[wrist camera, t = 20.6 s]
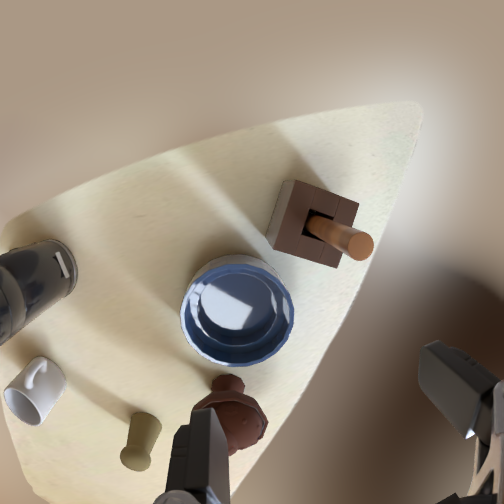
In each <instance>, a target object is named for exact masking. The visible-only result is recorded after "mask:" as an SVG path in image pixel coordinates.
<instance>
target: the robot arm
mask: <svg viewBox="0 0 504 504" xmlns="http://www.w3.org/2000/svg"><path fill="white" fill-rule="evenodd" d="M76 281H77V266H76V263H75V260H74V257H73V255H72V254H71V252H70V251H69V249H68V248H67V247H66V246H65V245H64V244H62V243H61V242H59V241H57V240H53V239H48V240H44V241H42V242H40V243H32V244H30V245H27V246H24V247H21V248H15V249H13V250H10V251H9V252H7V253H5V254H2V255H0V346H2V345H3V344H4V343H5V342H6V341H8V340H9V339H10V338H11V337H13V336H14V335H15V334H16V333H18V332H19V331H20V330H21V329H22V328H24V327H25V326H26V325H28V324H29V323H30V322H31V321H33V320H34V319H35V318H37V317H38V316H39V315H41V314H42V313H43V312H44V311H46V310H47V309H48V308H50V307H51V306H52V305H54V304H55V303H56V302H58V301H59V300H60V299H62V298H64V297H66V296H67V295H68V294H70V293H71V292H72V290H73V289H74V287H75V285H76ZM418 382H419V385H420V388H421V389H422V391H423V392H424V393H425V394H426V396H427V397H428V398H429V399H430V400H431V401H432V402H433V403H434V405H436V407H437V408H438V409H439V410H440V411H441V412H442V414H443V415H444V416H445V417H446V418H447V419H448V420H449V422H450V423H451V424H452V425H453V426H454V427H455V428H456V430H457V431H458V432H459V433H460V434H461V435H462V437H463V438H464V439H465V440H466V439H467V438H469V437H470V436H472V435H473V434H476V435H477V436H478V437H477V440H476V449H475V461H474V470H473V478H472V483H471V486H470V489H469V491H468V495H467V497H462V498H459V497H458V496H457V494H456V493H454V494H452V495H451V496H449V497H447V498H446V499H444V500H442V501H440V502H438V503H437V504H504V380H502V381H501V380H500V379H499V378H498V377H496V376H495V375H494V374H493V373H491V372H490V371H489V370H488V369H486V368H485V367H484V366H482V365H481V364H480V363H478V362H477V361H476V360H475V359H473V358H471V356H469V355H468V354H467V353H466V352H464V351H463V350H461V349H458V348H455V347H450V348H449V347H448V346H447V345H445V344H444V343H443V342H442V341H440V340H436V341H434V342H432V343H429V344H427V345H425V346H423V347H422V348H421V349H420V360H419V373H418ZM172 448H173V449H172V451H171V458H170V463H169V470H168V476H167V483H166V489H165V493H163V494H161V495H160V496H159V497H157V498H156V500H155V501H154V503H153V504H230V485H229V460H228V445H227V440H226V437H225V434H224V432H223V429H222V427H221V425H220V422H219V420H218V417H217V415H216V413H215V410H214V409H213V408H206V409H199V410H193V411H192V412H191V420H190V424H189V425H181V426H180V428H179V429H178V431H177V432H176V434H175V435H174V439H173V445H172Z"/></svg>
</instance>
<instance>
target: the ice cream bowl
mask: <svg viewBox="0 0 504 504" xmlns="http://www.w3.org/2000/svg"><path fill="white" fill-rule="evenodd" d="M244 388H245V385H244V383H243V381H242V380H241V378H239V377H236V376H234V375H232V374H229V375H220V376H219V377H217V378H216V379H215V380H213V383H212V387H211V389H212V391H213V392H212V393H211V394H209V395H208V396H206V397H205V398H204V399H202V400H201V401H199V402H198V403H197V404H196V405H194V407H193V409H192V411H193V410H199V409H206V408H213V409H214V410H215V413H216V415H217V417H218V420H219V422H220V425H221V427H222V429H223V432H224V434H225V437H226V440H227V445H228V456H231V455H233V454H234V453H236V451H237V450H239V449H240V450H243V449H245V448H247V447H250V446H252V445H254V444H256V443H257V442H258V440H260V439H261V438H263V435H264V433H265V430H266V427H267V425H268V420H267V418H266V416H265V414H264V413H263V411H262V409H261V408H260V406H259V404H258V403H257V401H256V400H255V399H254V398H252V397H250V396H247V395H245V394H243V392H244ZM192 411H191V412H192ZM190 420H191V417H190ZM189 424H190V423H189Z"/></svg>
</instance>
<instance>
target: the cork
mask: <svg viewBox="0 0 504 504" xmlns="http://www.w3.org/2000/svg"><path fill="white" fill-rule="evenodd" d="M161 429H162V425H161V423H160V421H159V420H158V419H157V418H156V417H154V416H153V415H151V414H148V413H143V412H140V413H135V414H133V416H132V417H131V421H130V427H129V433H128V439H127V445H126V447H124V448H123V449H122V451H121V454H120V459H121V462H122V463H123V465H124V466H126V467H127V468H129V469H131V470H134V471H145V470H146V469H148V468H149V466H150V463H151V457H150V453H151V451H152V448H153V446H154V444H155V442H156V440H157V438H158V436H159V433H160V431H161Z"/></svg>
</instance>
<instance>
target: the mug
mask: <svg viewBox="0 0 504 504" xmlns="http://www.w3.org/2000/svg"><path fill="white" fill-rule="evenodd" d="M65 389H66V379H65V377H64V374H63V373H62V371H61V370H60V368H59V367H58V366H57V365H56V364H55V363H54V362H52V361H51V360H49V359H47V358H45V357H36V358H34V359H33V360H32V361H31V362H30V363H29V364H28V365H27V366H26V367H25V368H24V369H23V370H22V371H21V372H20V373H19V374H18V375H17V376H16V378H15V379H14V380H13V381H12V382H11V383H10V384H9V385H8V386H7V387H6V388H5V390H4V398H5V401H6V403H7V405H8V407H9V408H10V410H11V411H12V412H13V413H14V414H15V415H16V416H17V417H18V418H19V419H20V420H21V421H23V422H24V423H26V424H28V425H31V426H39V425H40V424H41V423H42V422H43V421H44V419H45V418H46V416H47V415H48V413H49V412H50V410H51V409H52V408H53V406H54V405H55V403H56V402H57V400H58V399H59V398H60V396H61V395H62V394H63V393H64V391H65Z"/></svg>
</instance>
